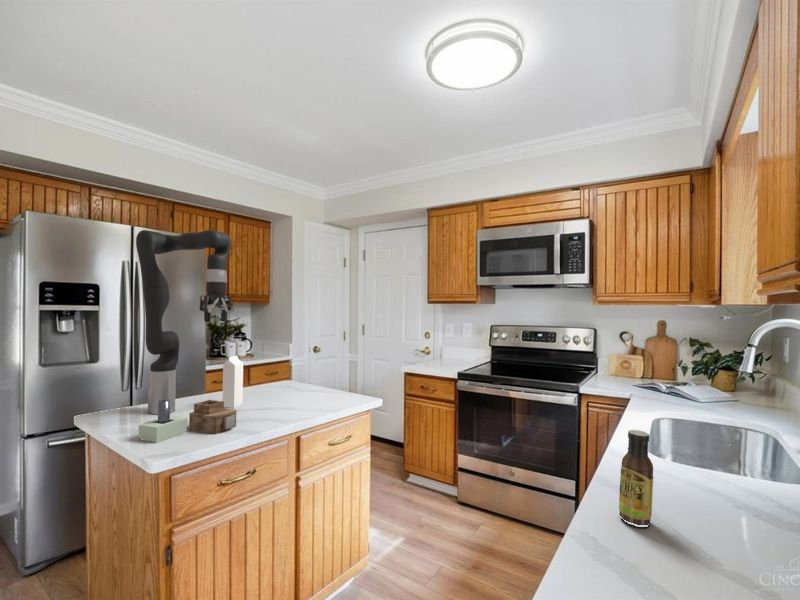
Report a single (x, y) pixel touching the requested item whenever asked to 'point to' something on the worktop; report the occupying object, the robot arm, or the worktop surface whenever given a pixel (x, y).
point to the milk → (233, 382)
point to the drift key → (228, 421)
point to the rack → (162, 429)
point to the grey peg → (163, 411)
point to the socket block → (209, 416)
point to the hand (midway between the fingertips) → (215, 321)
